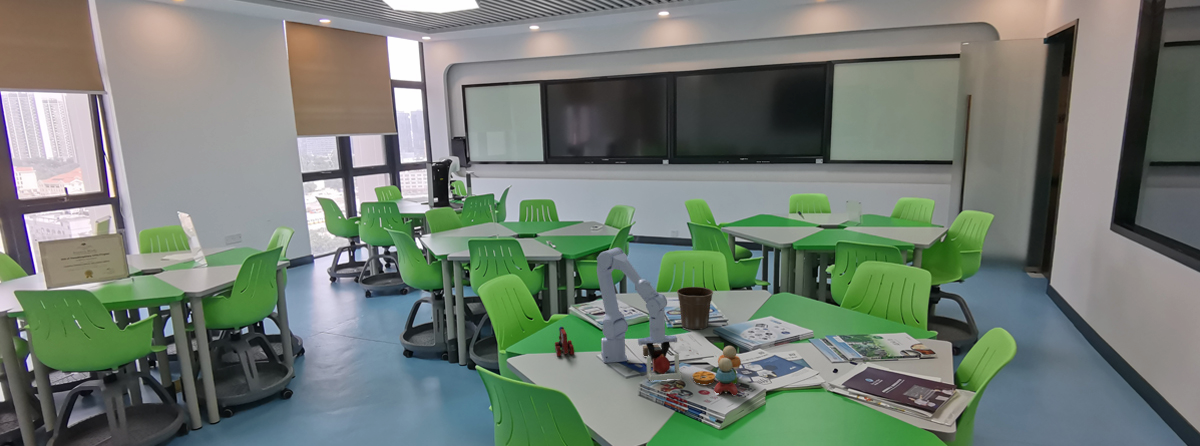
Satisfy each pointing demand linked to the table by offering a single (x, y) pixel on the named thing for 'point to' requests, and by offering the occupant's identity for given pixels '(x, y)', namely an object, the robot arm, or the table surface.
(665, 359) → the onion
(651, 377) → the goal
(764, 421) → the table surface
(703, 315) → the plant pot
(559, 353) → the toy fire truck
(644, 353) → the tan rectangular collar
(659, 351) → the rod
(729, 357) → the wooden toy figures
